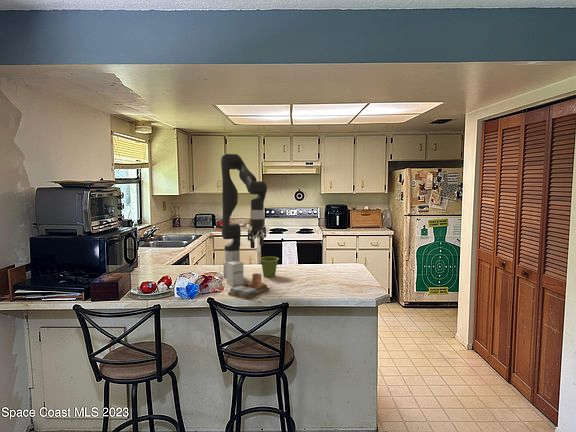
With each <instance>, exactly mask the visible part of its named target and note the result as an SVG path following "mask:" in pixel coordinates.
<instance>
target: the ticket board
mask: <svg viewBox="0 0 576 432" xmlns="http://www.w3.org/2000/svg"><path fill="white" fill-rule="evenodd" d="M269 291H270V287H268V286H267V284H265V285H264V286H261V287H259V288H254V287H249V286H248V282H246V283H243V284H240V285H235V286H232V287H230V291H228V292H227V295H228V296H232V297H236V298H242V299H247V300H251V299H254V298H256V297H258V296H261V295H263V294H264V293H267V292H269Z"/></svg>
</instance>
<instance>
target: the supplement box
mask: <svg viewBox="0 0 576 432" xmlns="http://www.w3.org/2000/svg"><path fill="white" fill-rule="evenodd" d="M226 284H228V285H229V286H232V287H235V286H238V285H243V284H244V262H242V261H240V262H239V261H234V262H227V278H226Z"/></svg>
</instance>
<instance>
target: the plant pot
mask: <svg viewBox="0 0 576 432" xmlns="http://www.w3.org/2000/svg"><path fill="white" fill-rule="evenodd" d="M259 260H260V264H261V268H262V275H263V277H264V278H275V276H276V273H277V266H278V262H279V260H280V258H279V257H276V256H263V257H260V258H259Z"/></svg>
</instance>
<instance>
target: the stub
mask: <svg viewBox="0 0 576 432" xmlns="http://www.w3.org/2000/svg"><path fill="white" fill-rule="evenodd" d="M251 277H252V279H251V280H252V281H251V280H250V281H249V282H247V283H248V286H249V287H254V288H259V287H261V286H264V285H266V283H265V282H262V274H261V273H257V272H254V273H252V275H251Z"/></svg>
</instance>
